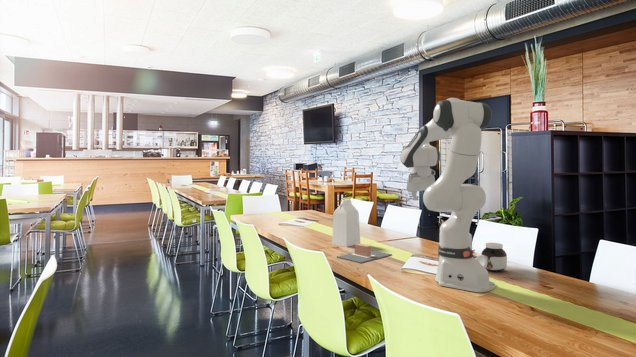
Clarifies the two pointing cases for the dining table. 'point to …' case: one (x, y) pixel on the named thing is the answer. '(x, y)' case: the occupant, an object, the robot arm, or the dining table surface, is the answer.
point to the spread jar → (493, 257)
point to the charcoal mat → (363, 259)
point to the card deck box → (363, 249)
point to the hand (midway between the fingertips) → (420, 199)
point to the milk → (346, 225)
